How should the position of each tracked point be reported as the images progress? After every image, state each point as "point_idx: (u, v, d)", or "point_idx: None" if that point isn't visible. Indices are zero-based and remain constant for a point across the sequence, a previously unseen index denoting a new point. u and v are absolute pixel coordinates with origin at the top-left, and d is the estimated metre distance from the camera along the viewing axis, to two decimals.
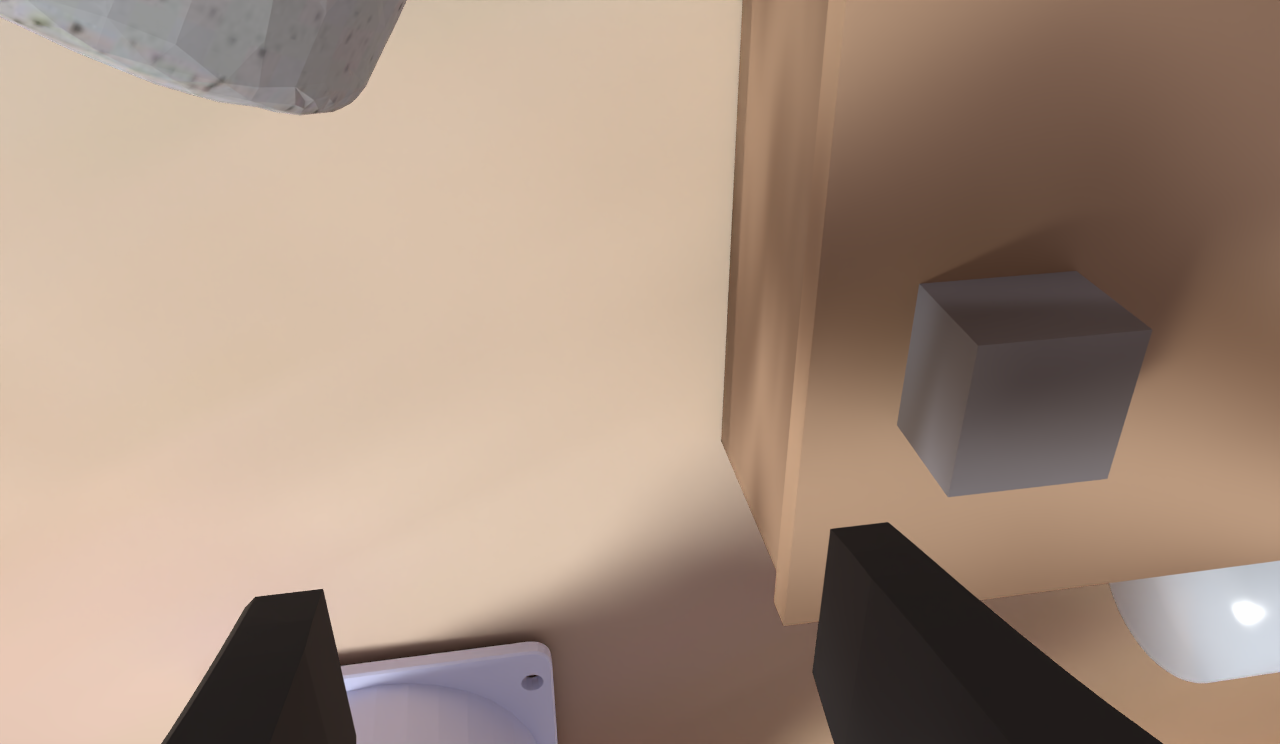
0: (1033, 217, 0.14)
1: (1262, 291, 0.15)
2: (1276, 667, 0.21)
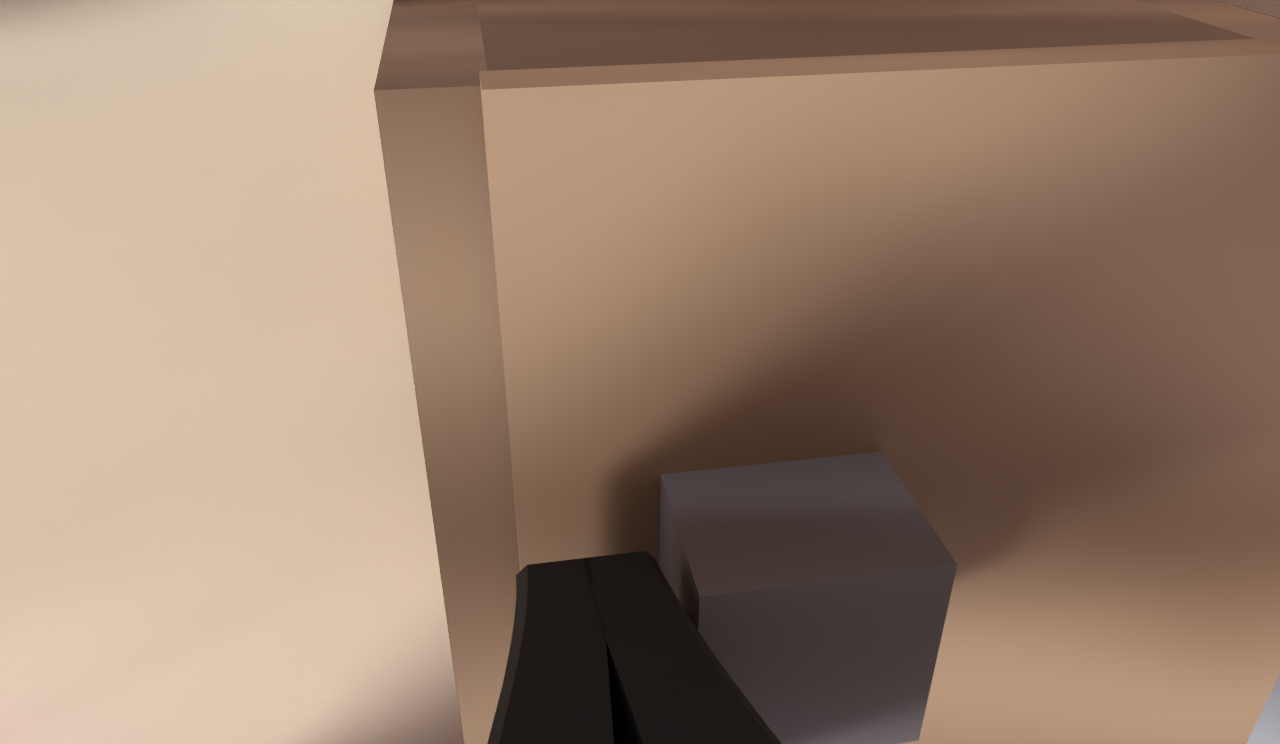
0: (812, 387, 0.10)
1: (1143, 466, 0.11)
2: None
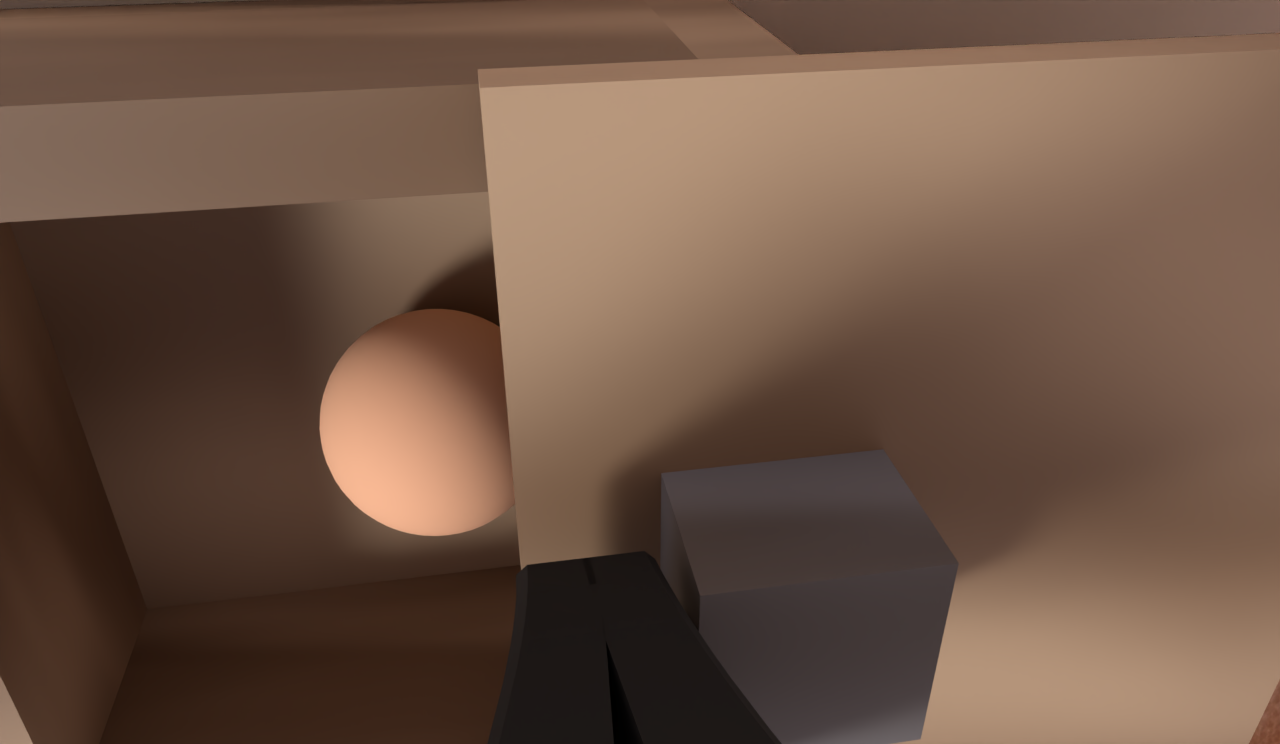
0: (812, 385, 0.10)
1: (1145, 464, 0.11)
2: None
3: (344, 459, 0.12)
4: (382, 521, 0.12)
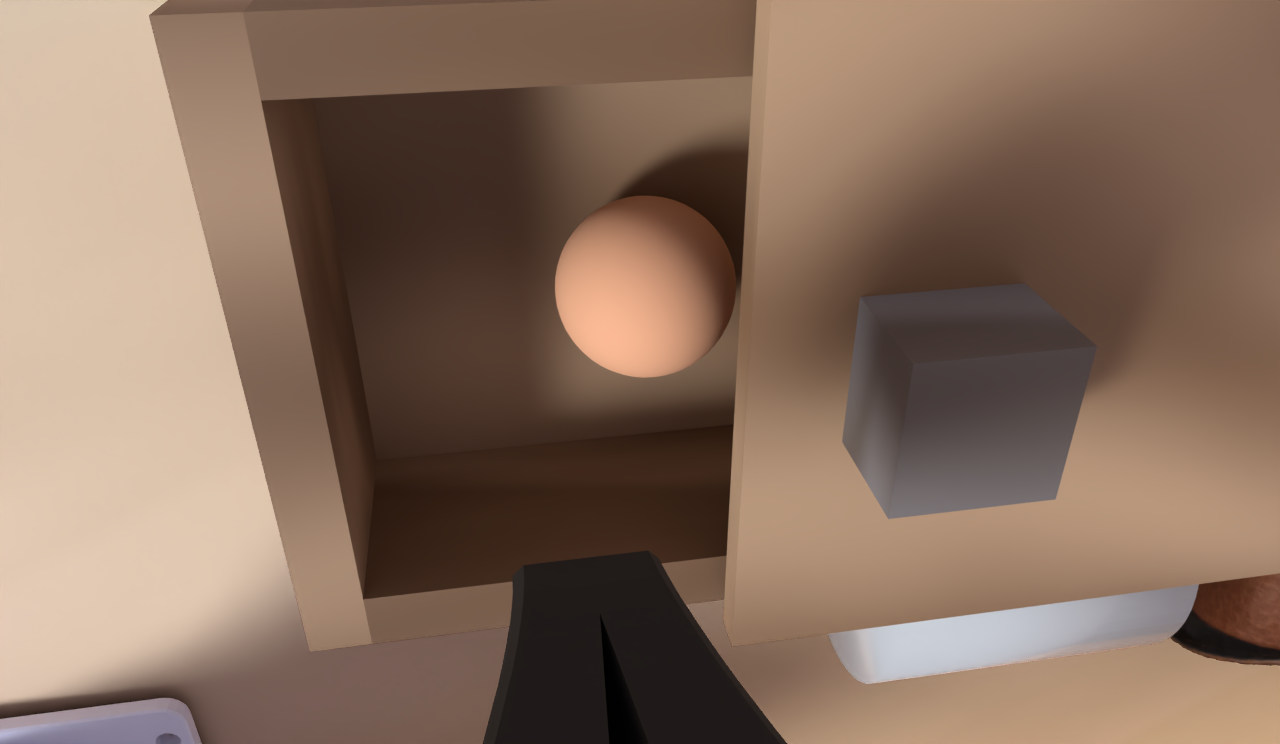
0: (978, 228, 0.13)
1: (1220, 303, 0.14)
2: None
3: (586, 307, 0.15)
4: (609, 361, 0.16)
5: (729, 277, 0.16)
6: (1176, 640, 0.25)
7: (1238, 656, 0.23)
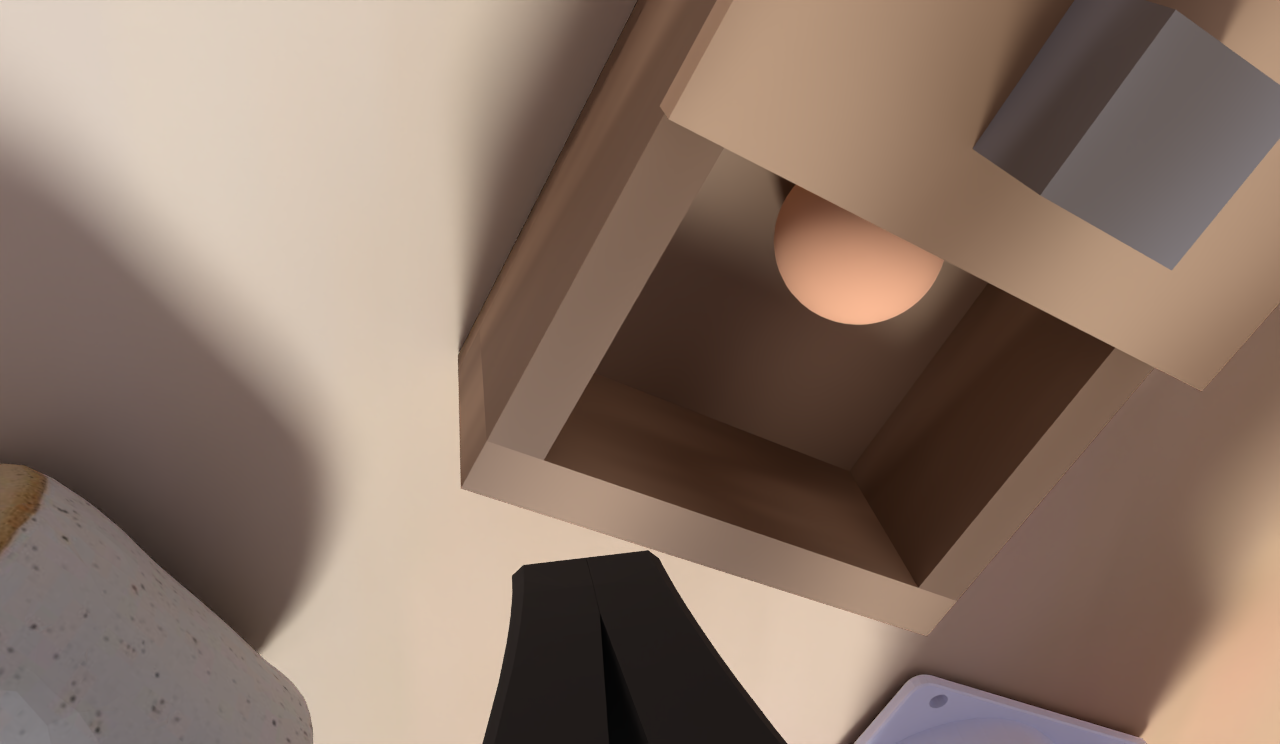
0: (994, 12, 0.12)
1: None
2: None
3: (833, 311, 0.17)
4: (888, 317, 0.17)
5: None
6: None
7: None
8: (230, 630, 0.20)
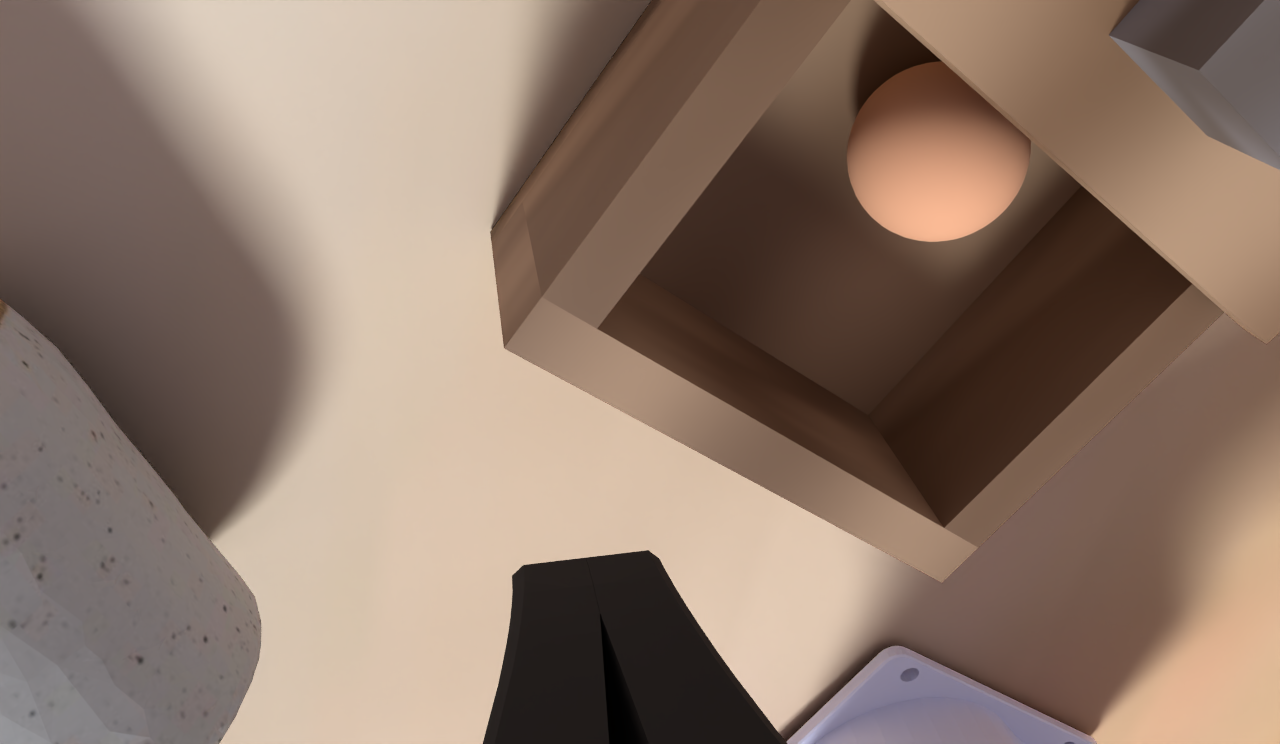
0: None
1: None
2: None
3: (907, 218, 0.16)
4: (960, 234, 0.16)
5: None
6: None
7: None
8: None
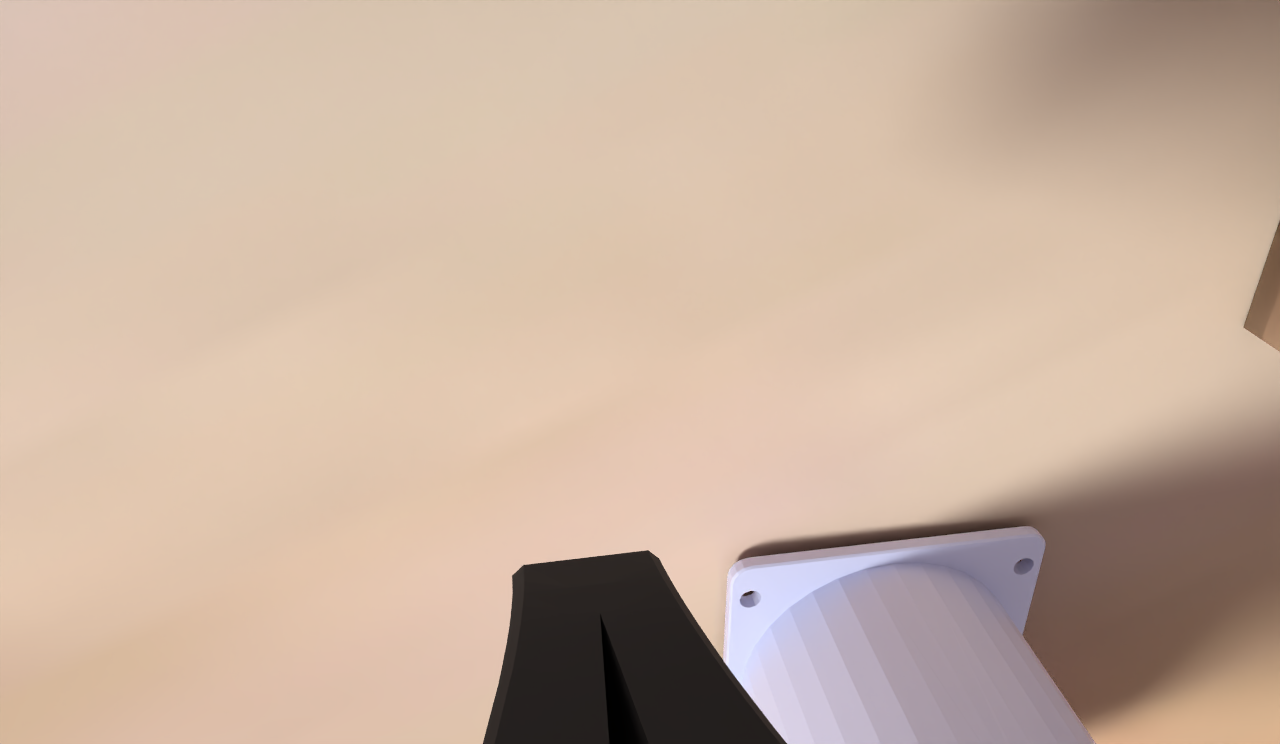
0: None
1: None
2: None
3: None
4: None
5: None
6: None
7: None
8: None
